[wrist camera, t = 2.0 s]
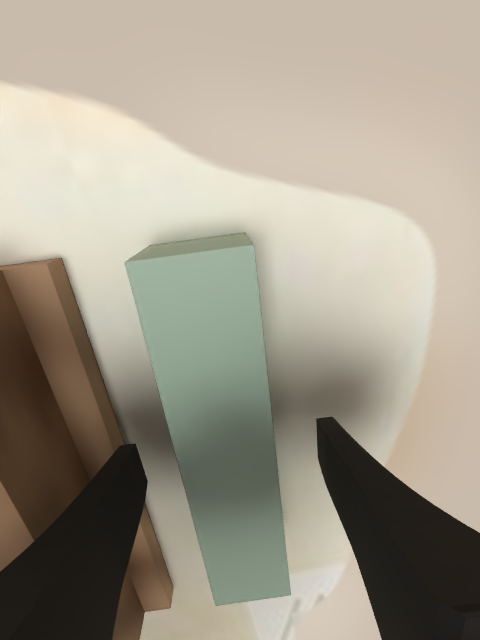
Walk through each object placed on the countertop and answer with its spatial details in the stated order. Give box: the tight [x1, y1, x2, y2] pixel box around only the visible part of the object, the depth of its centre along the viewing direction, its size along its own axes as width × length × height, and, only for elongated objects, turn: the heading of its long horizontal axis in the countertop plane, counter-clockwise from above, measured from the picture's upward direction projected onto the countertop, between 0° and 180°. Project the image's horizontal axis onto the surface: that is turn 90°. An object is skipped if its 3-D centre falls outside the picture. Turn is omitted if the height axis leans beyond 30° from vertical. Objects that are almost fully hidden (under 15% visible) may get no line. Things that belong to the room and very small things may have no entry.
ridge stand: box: [0, 258, 173, 640], centre depth 13 cm, size 20×5×4 cm, turn 7°
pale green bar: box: [125, 233, 291, 606], centre depth 13 cm, size 16×4×4 cm, turn 7°
